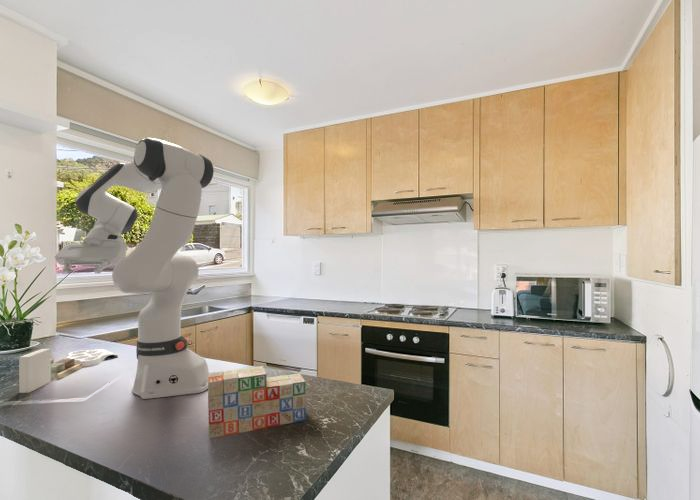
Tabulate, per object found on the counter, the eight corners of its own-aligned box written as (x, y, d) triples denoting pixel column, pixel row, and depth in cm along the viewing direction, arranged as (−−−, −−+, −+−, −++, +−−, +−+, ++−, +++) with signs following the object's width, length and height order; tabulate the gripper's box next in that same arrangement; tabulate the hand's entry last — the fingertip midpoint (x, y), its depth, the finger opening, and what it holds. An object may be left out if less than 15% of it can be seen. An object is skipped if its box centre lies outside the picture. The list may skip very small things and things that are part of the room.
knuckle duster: (121, 362, 128) (72, 374, 116) (102, 354, 139) (55, 364, 127) (121, 353, 128) (72, 364, 116) (102, 345, 139) (55, 355, 127)
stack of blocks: (300, 409, 88) (300, 360, 88) (306, 421, 82) (305, 368, 82) (208, 425, 81) (208, 371, 81) (208, 439, 75) (207, 381, 75)
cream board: (41, 385, 106) (41, 349, 106) (50, 385, 106) (50, 348, 106) (19, 396, 98) (19, 357, 98) (29, 396, 98) (28, 356, 98)
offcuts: (63, 369, 117) (63, 359, 117) (74, 369, 117) (74, 358, 117) (43, 378, 108) (43, 367, 108) (55, 378, 109) (55, 367, 109)
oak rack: (49, 372, 117) (49, 358, 117) (81, 371, 118) (81, 357, 118) (24, 383, 107) (24, 369, 107) (60, 382, 108) (59, 367, 108)
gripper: (63, 236, 121) (41, 266, 111) (126, 236, 123) (109, 265, 113) (72, 249, 126) (52, 279, 116) (132, 249, 127) (117, 278, 118)
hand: (81, 272), depth 115 cm, fingers open, 8 cm apart
